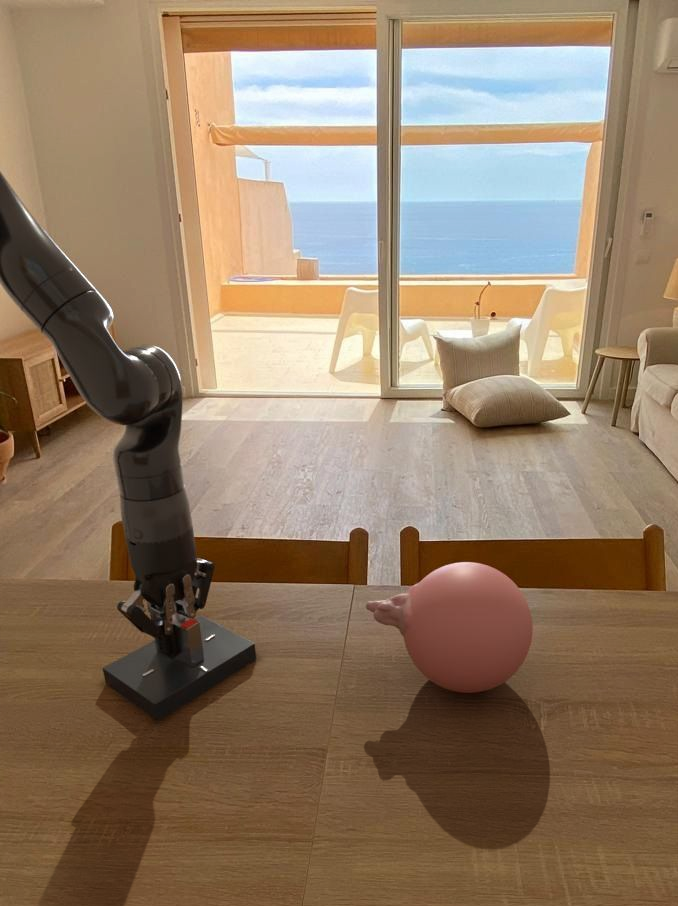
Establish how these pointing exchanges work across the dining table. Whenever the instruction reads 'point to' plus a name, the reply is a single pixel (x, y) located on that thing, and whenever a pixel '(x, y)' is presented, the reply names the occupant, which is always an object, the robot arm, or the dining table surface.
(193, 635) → the tap handle
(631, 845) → the dining table surface
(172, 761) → the dining table surface
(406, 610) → the balloon
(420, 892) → the dining table surface
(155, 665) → the base
